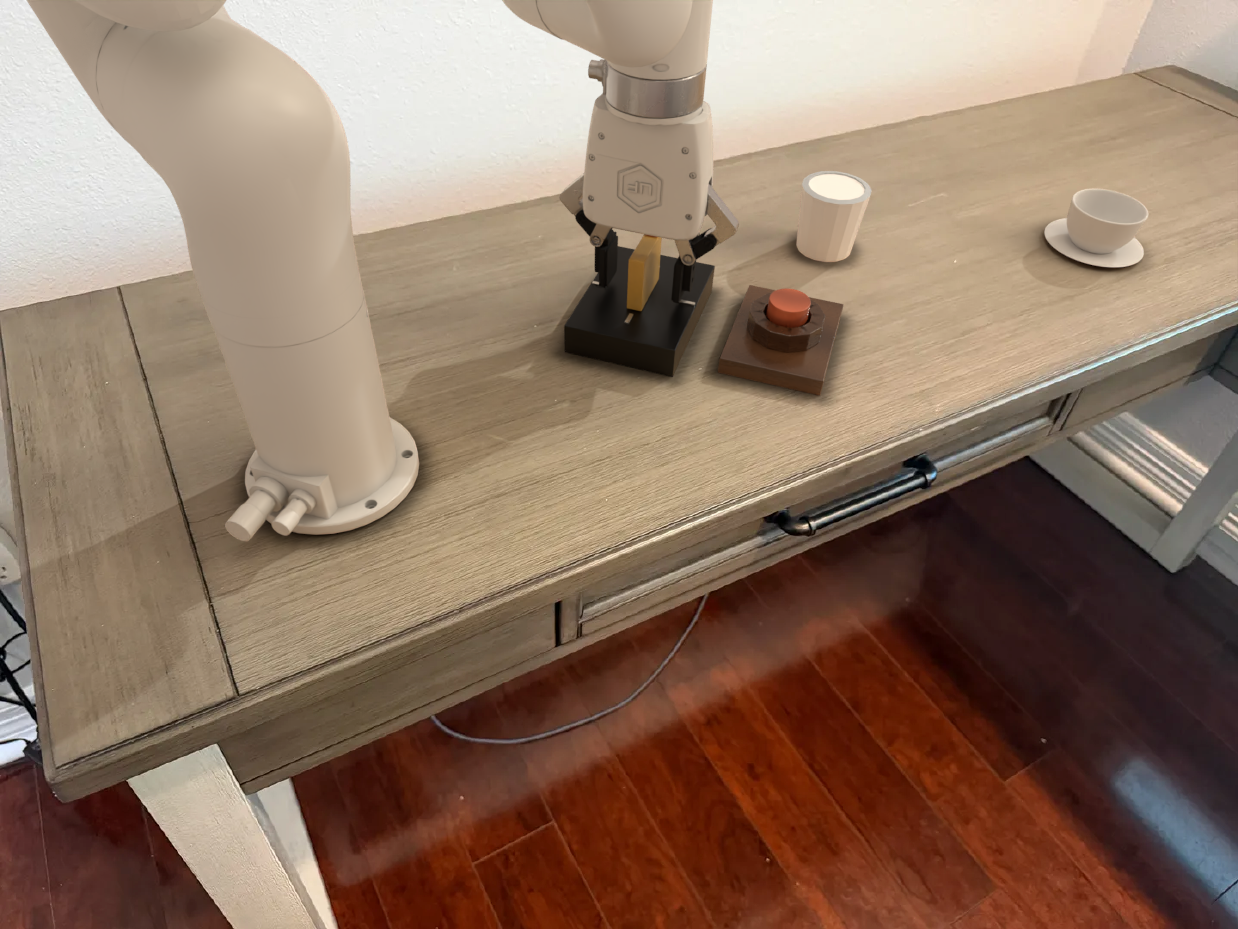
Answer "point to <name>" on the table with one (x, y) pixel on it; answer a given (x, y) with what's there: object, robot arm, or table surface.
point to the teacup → (1100, 229)
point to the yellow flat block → (643, 271)
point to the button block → (780, 344)
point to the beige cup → (830, 214)
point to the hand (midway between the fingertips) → (643, 285)
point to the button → (788, 308)
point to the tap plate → (638, 319)
